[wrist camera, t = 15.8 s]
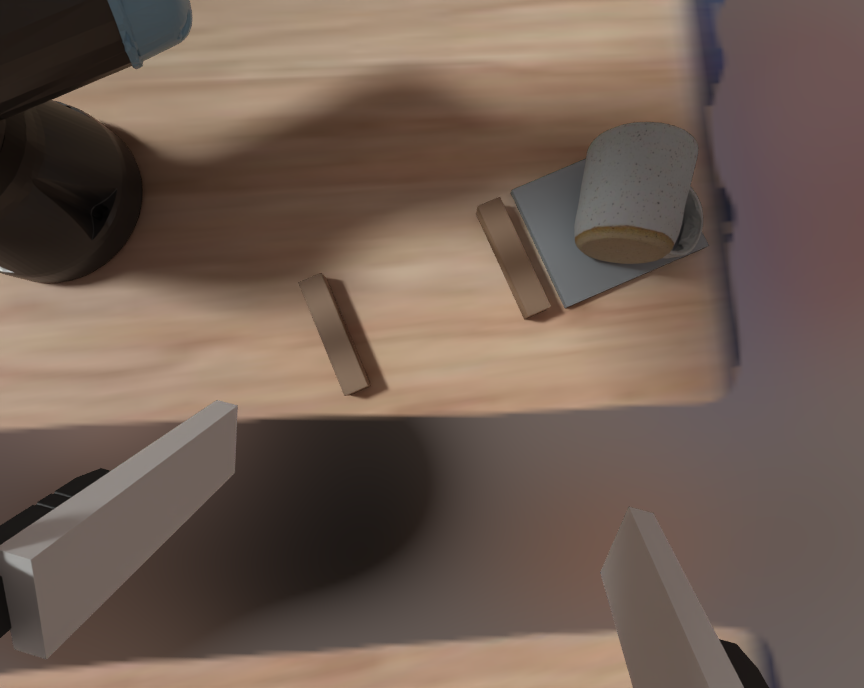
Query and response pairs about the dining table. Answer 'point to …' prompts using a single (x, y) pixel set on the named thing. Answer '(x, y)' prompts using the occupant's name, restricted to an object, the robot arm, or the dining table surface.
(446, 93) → the dining table surface
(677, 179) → the ceramic mug
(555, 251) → the slate mat
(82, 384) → the dining table surface
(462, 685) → the dining table surface
